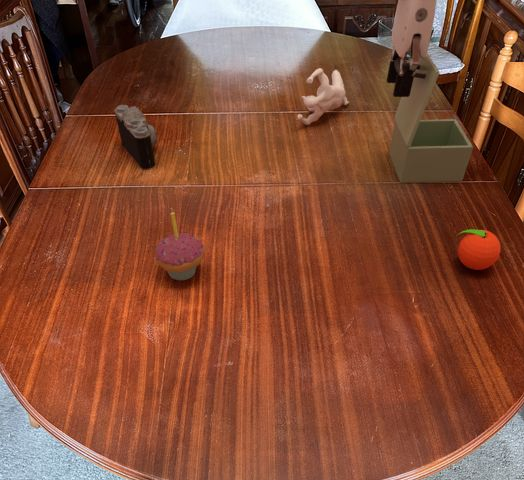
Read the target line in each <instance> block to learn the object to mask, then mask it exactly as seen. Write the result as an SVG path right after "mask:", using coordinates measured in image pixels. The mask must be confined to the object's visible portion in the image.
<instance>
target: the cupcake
mask: <svg viewBox="0 0 524 480" xmlns="http://www.w3.org/2000/svg"><path fill="white" fill-rule="evenodd" d="M173 210H174V209H173V207H170V219H171V223H172V228H173V233H172V234H167V235H166V236H164V237H162V239H161V240H160V241H159V242H158V243H157V245H156V246H155V251H154V258H155V260H156V264H157V265H158V266H159V267H160V268H161V269H163V270H165V271H166V272H167V274H168V275H169V277H170V278H171V279H173V280H174V281H175V280H176V281H186V280H189V279H191V278H193V277H194V275H195V274H196V271H197V267H198V266H199V265H200V264H201V263H202V261H203V258H204V255H205V247H204V244H203V243H202V241H201V240H200V239H199V238H198V237H196V236H194V235H193V234H190V233H186V232H179V231H178V230H179V229H178V225H177V220H176V213H175V211H173Z"/></svg>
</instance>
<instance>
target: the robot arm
mask: <svg viewBox="0 0 524 480" xmlns="http://www.w3.org/2000/svg"><path fill="white" fill-rule="evenodd" d="M436 8H437V0H397V5H396V8H395V14H394V19H393V24H392V31H391V36H390V37H391V44H392V51H391V55H390V61H389V66H388V72H387V76H386V83H388V84H394V88H393V93H392V95H393V97H394V98H401V97H409V96H410V92H411V88H412V83H413V79H414V76H415V71H416V69H417V66H418V65H419V56H420V58H421V59H424V58H425V57H426V56H427V53H428V51H429V47H430V42H431V36H432V31H433V26H434V21H435V15H436ZM408 54H410V56H408ZM399 57H401V62H400V70H399V74H398V73H397V71H396V69H395V67H394V61H395V60H396V59H397V58H399ZM405 61H406V63H409V64H406V66H405ZM407 61H409V62H407ZM404 66H405V67H404Z"/></svg>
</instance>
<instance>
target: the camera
mask: <svg viewBox="0 0 524 480" xmlns="http://www.w3.org/2000/svg"><path fill="white" fill-rule="evenodd" d="M114 116H115V119H116V124H117V128H118V132H119V133H118V134H119V137H120V141H121V146H122V147H123V149H124V150H125V151H126V152H127V153H128V154H129V156H130V157H131V158H132V159H133V161H134V162H135V163H136V164H137V166H139V168H140V169H141V170H146V171H147V170H151V169H153V168H155V167H156V159H155V155H154V147H155V146H156V144H157V143H158V136H157V133H156V129H155V127H154V126H153V125H151V124H148V121H147V118H146V116H145V115H144V113H143V112H142V111H141V110H140V109H139V108H138V107H137V106H136V105H133V106H131V107H129V106H128V105H127V104H119V105H117V106H116V108H115V109H114Z"/></svg>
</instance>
